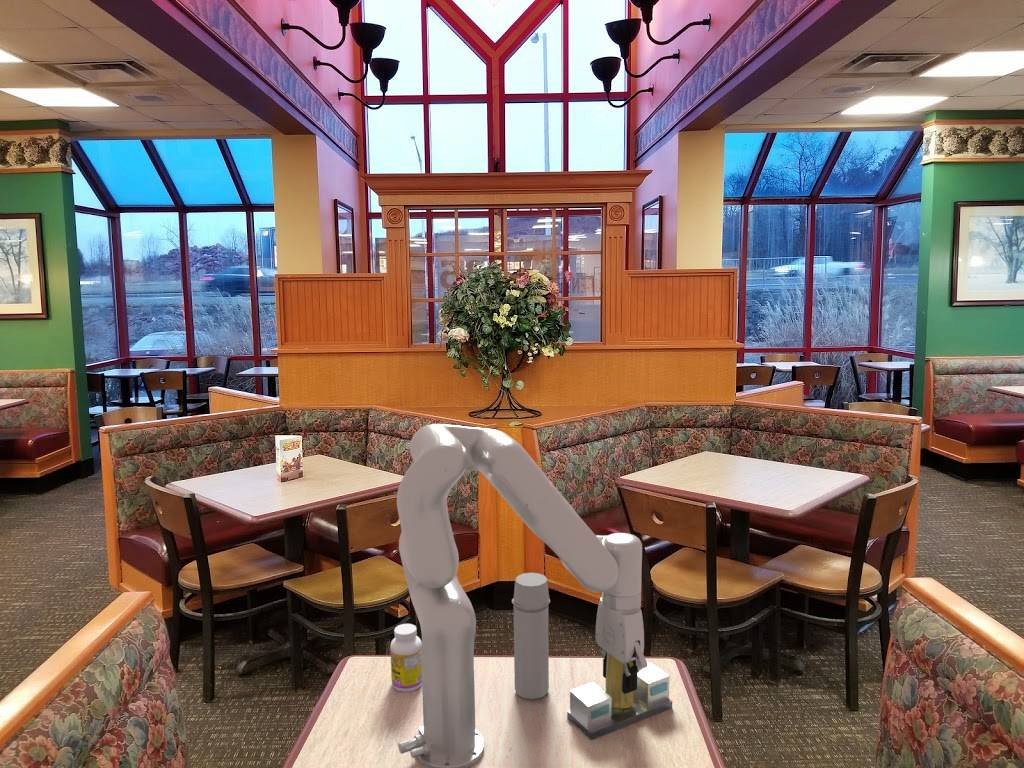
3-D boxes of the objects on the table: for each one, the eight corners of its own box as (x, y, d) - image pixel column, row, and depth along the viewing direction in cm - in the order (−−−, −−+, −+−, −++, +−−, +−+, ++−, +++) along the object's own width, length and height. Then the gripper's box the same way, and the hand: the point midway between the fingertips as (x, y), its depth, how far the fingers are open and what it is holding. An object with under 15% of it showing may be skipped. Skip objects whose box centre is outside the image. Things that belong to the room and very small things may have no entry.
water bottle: (551, 701, 150) (551, 587, 146) (513, 702, 150) (511, 587, 146) (549, 676, 159) (548, 567, 155) (513, 676, 159) (511, 568, 155)
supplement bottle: (388, 680, 158) (385, 625, 156) (417, 672, 161) (415, 618, 159) (396, 696, 152) (394, 639, 150) (427, 688, 155) (425, 632, 153)
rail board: (590, 740, 138) (591, 708, 137) (567, 717, 145) (567, 687, 144) (672, 707, 147) (672, 678, 146) (646, 688, 154) (646, 659, 153)
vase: (634, 692, 148) (635, 626, 146) (636, 710, 142) (638, 642, 140) (604, 690, 149) (605, 625, 146) (604, 708, 143) (605, 640, 140)
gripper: (580, 585, 147) (579, 667, 150) (634, 620, 133) (632, 711, 136) (610, 577, 151) (608, 658, 154) (665, 611, 136) (663, 699, 139)
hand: (619, 682), depth 145 cm, fingers closed on vase, 5 cm apart
